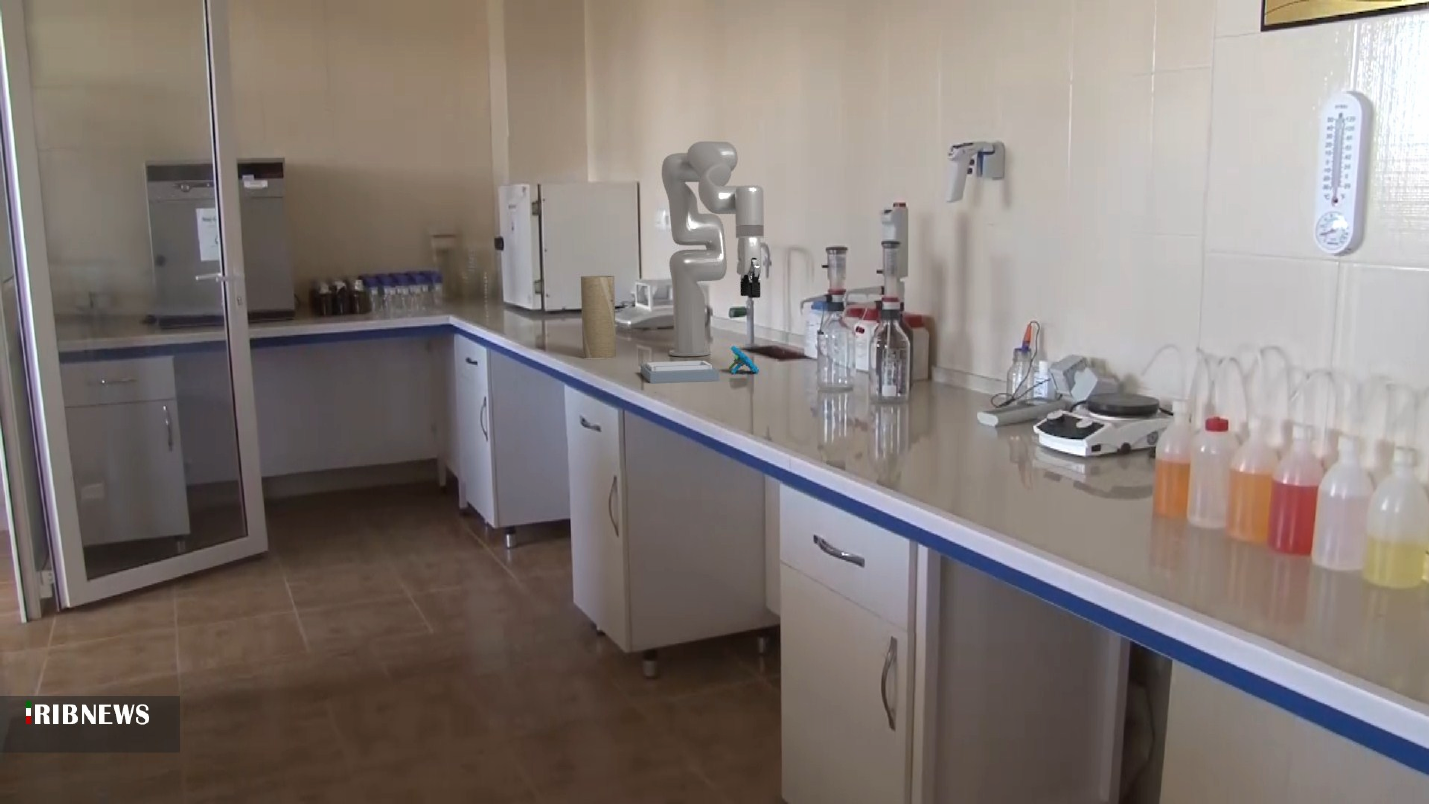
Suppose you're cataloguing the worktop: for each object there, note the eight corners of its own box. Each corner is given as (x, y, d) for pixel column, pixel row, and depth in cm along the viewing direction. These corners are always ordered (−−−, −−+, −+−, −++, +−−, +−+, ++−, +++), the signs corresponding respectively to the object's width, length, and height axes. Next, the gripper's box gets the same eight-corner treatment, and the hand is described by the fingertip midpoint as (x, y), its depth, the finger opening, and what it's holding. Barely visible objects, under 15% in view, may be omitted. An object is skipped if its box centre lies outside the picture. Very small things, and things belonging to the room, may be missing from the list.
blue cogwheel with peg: (765, 371, 308) (740, 345, 305) (750, 387, 307) (725, 361, 304) (752, 367, 318) (729, 341, 315) (738, 382, 318) (714, 357, 315)
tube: (618, 357, 354) (616, 275, 350) (612, 361, 344) (610, 277, 340) (586, 357, 355) (584, 275, 351) (579, 360, 345) (577, 277, 341)
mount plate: (640, 373, 315) (640, 360, 314) (705, 371, 318) (705, 358, 318) (650, 383, 296) (650, 369, 295) (719, 380, 299) (719, 367, 298)
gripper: (729, 232, 314) (730, 295, 317) (742, 232, 298) (743, 298, 300) (756, 232, 316) (756, 294, 318) (770, 232, 299) (771, 298, 301)
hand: (750, 296), depth 309 cm, fingers open, 9 cm apart
